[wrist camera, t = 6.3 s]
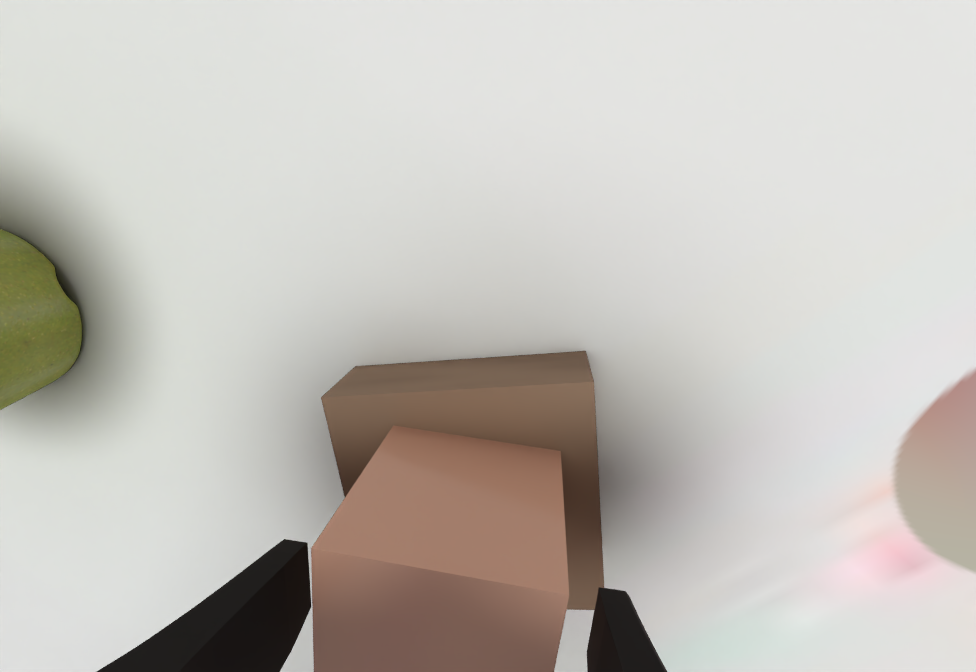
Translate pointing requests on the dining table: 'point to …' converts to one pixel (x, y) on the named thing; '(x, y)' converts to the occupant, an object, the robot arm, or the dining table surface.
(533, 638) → the terracotta cube
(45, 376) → the plant pot
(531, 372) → the walnut block
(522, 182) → the dining table surface
